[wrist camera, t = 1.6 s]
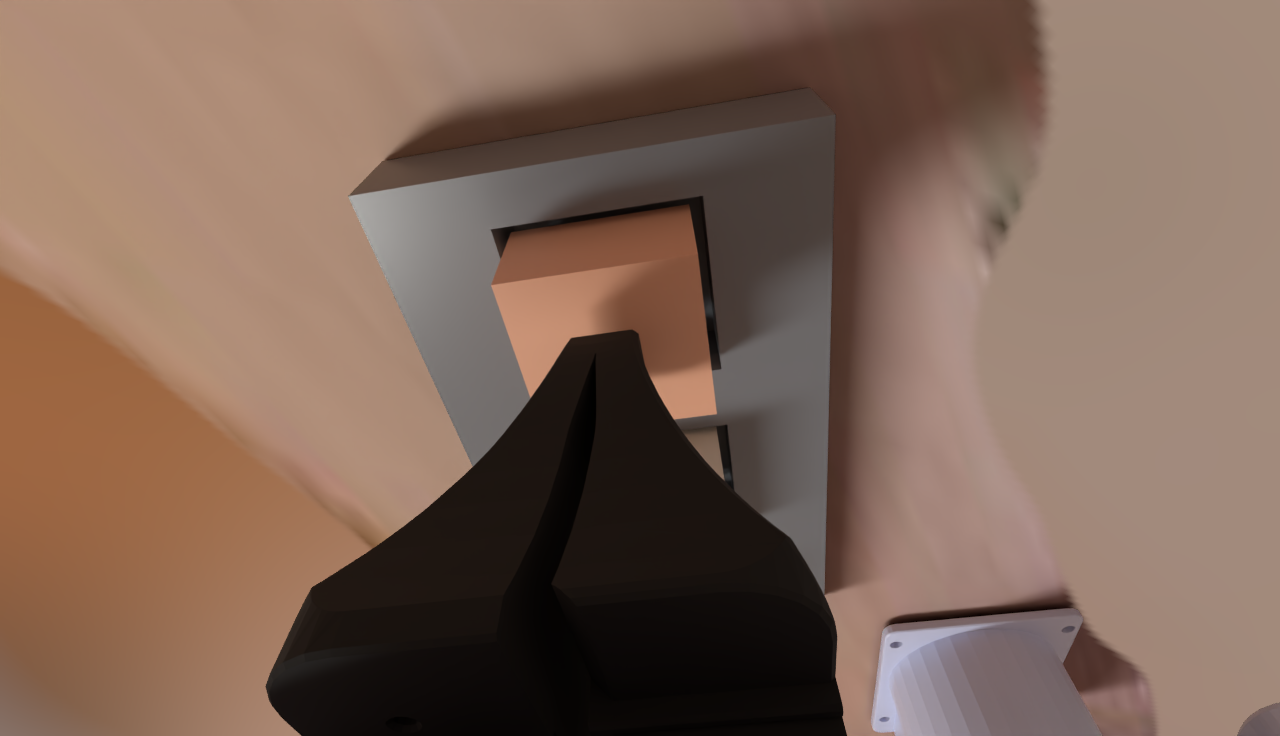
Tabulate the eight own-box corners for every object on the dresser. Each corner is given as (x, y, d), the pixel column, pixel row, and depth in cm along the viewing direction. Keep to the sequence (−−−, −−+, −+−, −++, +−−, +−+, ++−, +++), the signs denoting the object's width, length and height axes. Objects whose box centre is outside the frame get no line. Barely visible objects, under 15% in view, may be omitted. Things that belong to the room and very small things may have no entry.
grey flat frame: (810, 600, 26) (823, 651, 24) (573, 623, 27) (568, 674, 25) (810, 87, 14) (835, 114, 12) (382, 161, 15) (348, 196, 13)
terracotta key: (707, 352, 16) (717, 413, 14) (554, 372, 16) (543, 436, 14) (688, 204, 14) (697, 253, 12) (510, 232, 14) (490, 284, 12)
